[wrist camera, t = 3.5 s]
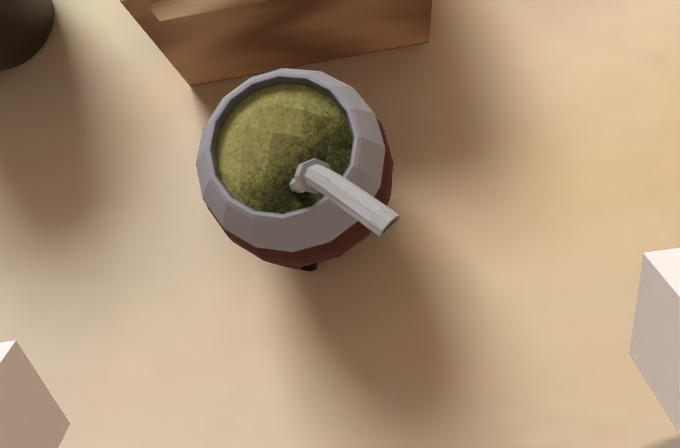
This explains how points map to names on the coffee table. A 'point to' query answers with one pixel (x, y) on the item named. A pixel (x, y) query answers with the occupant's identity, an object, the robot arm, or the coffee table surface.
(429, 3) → the tan block with ledge
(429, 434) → the coffee table surface
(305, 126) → the mate gourd
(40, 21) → the mug
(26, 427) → the robot arm
